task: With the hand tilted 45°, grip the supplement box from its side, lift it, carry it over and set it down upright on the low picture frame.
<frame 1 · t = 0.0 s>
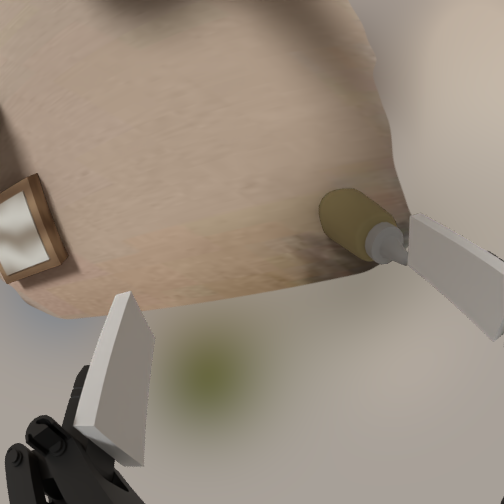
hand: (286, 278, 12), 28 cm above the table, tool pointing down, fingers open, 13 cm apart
squeeze bottle: (335, 207, 42), on the table
picture frame: (22, 229, 34), on the table
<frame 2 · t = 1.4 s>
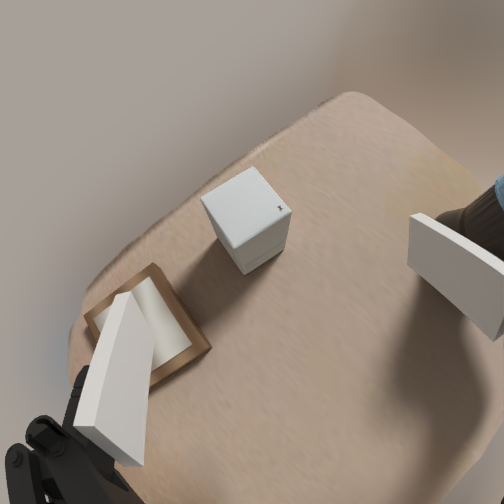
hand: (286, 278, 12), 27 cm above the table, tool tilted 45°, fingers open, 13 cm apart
supplement box: (250, 243, 42), on the table
picture frame: (147, 332, 38), on the table
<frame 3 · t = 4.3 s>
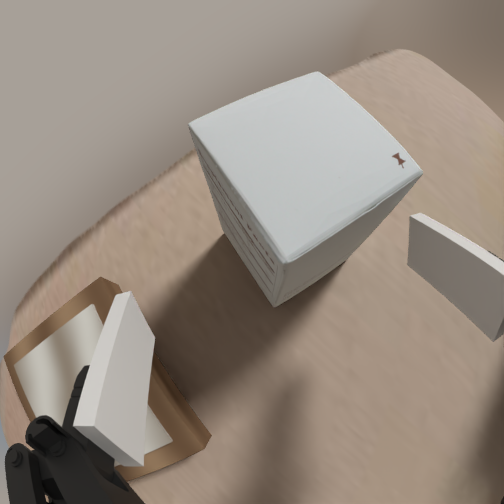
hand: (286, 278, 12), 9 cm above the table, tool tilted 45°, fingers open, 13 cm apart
supplement box: (285, 246, 22), on the table
picture frame: (97, 397, 19), on the table
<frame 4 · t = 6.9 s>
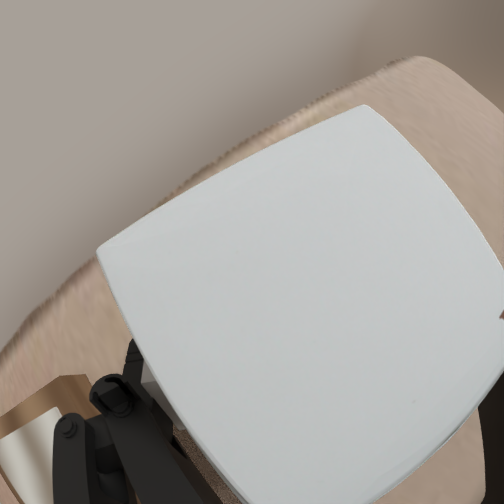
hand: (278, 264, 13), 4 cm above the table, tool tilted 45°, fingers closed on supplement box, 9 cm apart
supplement box: (288, 335, 16), on the table, touching gripper
picture frame: (80, 484, 12), on the table
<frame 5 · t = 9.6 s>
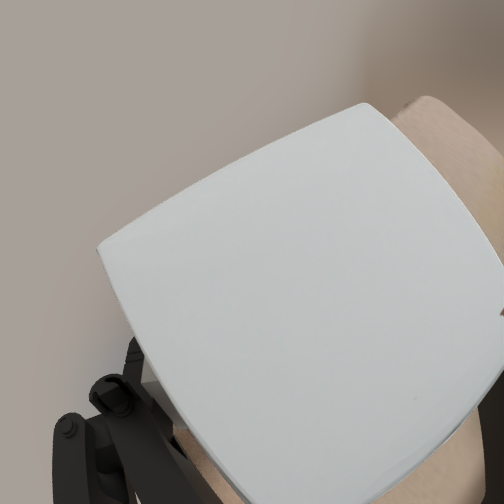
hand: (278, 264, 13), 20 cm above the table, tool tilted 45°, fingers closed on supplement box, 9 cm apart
supplement box: (289, 334, 16), point 15 cm above the table, touching gripper
when the fingers open (9 cm above the table, at t = 12.7 s): supplement box drops 1 cm, resting on picture frame.
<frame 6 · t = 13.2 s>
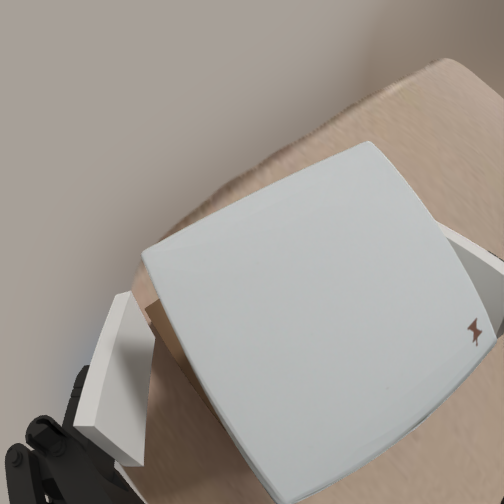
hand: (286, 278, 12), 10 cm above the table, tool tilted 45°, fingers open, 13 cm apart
supplement box: (290, 334, 18), point 3 cm above the table, touching picture frame
picture frame: (282, 337, 21), on the table
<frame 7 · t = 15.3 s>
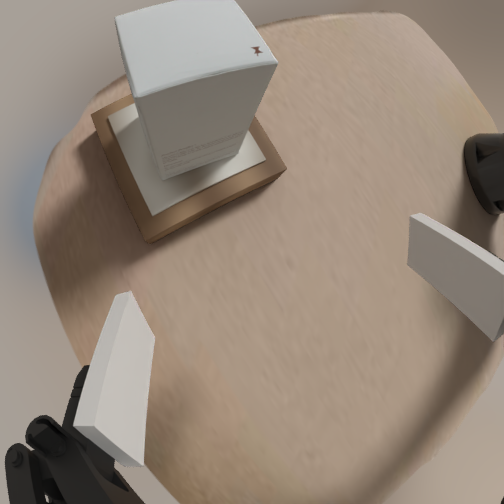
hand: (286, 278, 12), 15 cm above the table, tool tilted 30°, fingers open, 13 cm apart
supplement box: (186, 134, 23), point 3 cm above the table, touching picture frame
picture frame: (183, 148, 26), on the table
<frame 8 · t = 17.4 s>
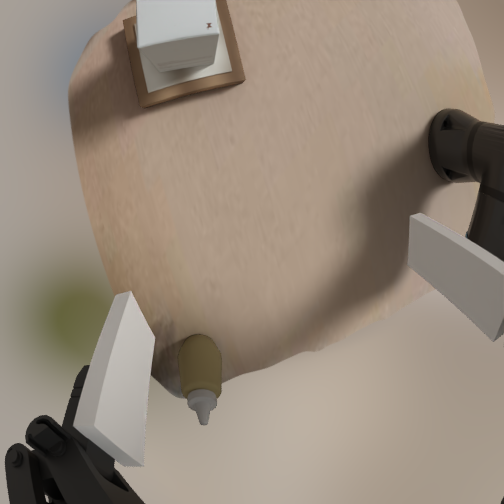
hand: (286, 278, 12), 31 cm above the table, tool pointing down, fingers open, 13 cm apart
supplement box: (183, 44, 28), point 3 cm above the table, touching picture frame
squeeze bottle: (199, 344, 52), on the table
picture frame: (183, 50, 31), on the table
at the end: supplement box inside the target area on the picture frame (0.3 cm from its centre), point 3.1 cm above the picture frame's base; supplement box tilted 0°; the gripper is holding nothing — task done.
